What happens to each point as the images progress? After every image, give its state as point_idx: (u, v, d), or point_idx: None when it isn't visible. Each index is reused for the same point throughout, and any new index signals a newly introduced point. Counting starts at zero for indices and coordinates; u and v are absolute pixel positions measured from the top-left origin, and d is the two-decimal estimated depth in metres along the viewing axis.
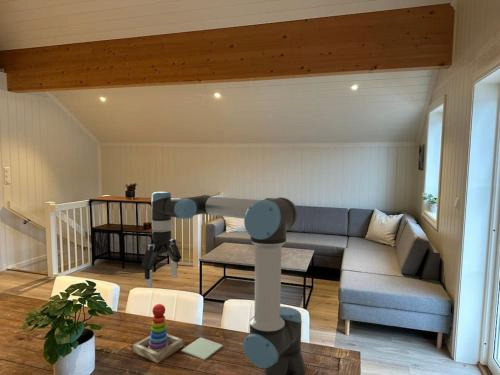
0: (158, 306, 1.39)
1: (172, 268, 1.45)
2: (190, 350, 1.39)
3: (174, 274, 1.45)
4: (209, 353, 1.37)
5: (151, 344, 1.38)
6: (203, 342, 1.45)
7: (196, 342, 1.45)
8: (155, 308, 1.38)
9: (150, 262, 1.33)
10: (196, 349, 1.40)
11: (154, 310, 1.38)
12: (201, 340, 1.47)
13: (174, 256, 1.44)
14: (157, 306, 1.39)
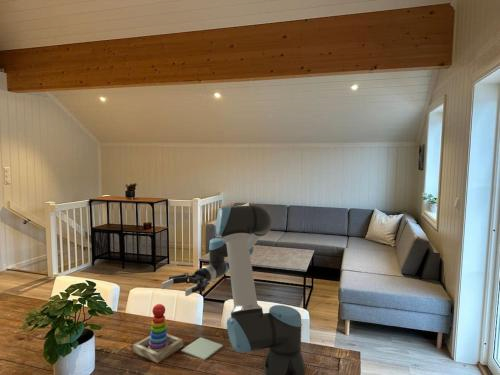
0: (158, 306, 1.39)
1: None
2: (190, 350, 1.39)
3: None
4: (209, 353, 1.37)
5: (151, 344, 1.38)
6: (203, 342, 1.45)
7: (196, 342, 1.45)
8: (155, 308, 1.38)
9: None
10: (196, 349, 1.40)
11: (154, 310, 1.38)
12: (201, 340, 1.47)
13: (198, 282, 1.51)
14: (157, 306, 1.39)
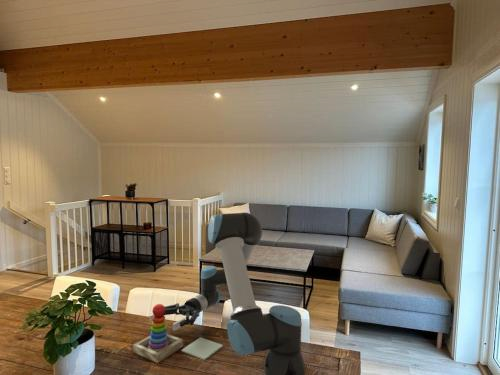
0: (158, 306, 1.39)
1: None
2: (190, 350, 1.39)
3: None
4: (209, 353, 1.37)
5: (151, 344, 1.38)
6: (203, 342, 1.45)
7: (196, 342, 1.45)
8: (155, 308, 1.38)
9: None
10: (196, 349, 1.40)
11: (154, 310, 1.38)
12: (201, 340, 1.47)
13: (187, 315, 1.47)
14: (157, 306, 1.39)
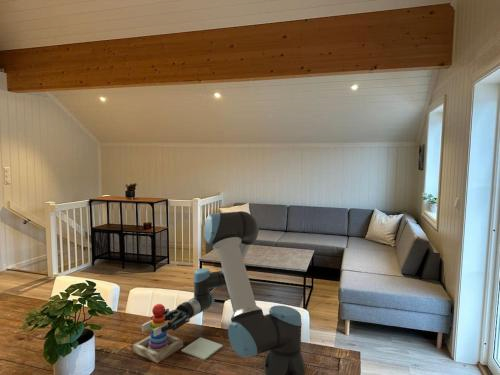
0: (158, 306, 1.39)
1: None
2: (190, 350, 1.39)
3: None
4: (209, 353, 1.37)
5: (151, 344, 1.38)
6: (203, 342, 1.45)
7: (196, 342, 1.45)
8: (155, 308, 1.38)
9: None
10: (196, 349, 1.40)
11: (154, 310, 1.38)
12: (201, 340, 1.47)
13: (172, 320, 1.42)
14: (157, 306, 1.39)
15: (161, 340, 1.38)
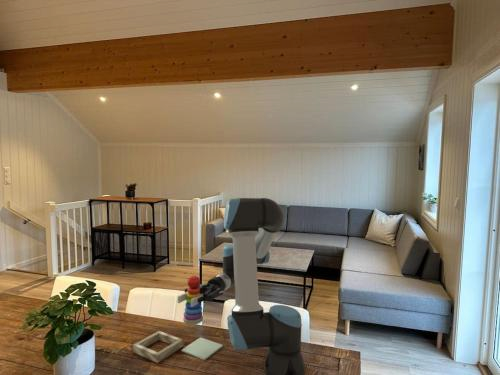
0: (193, 277, 1.39)
1: None
2: (190, 350, 1.39)
3: None
4: (209, 353, 1.37)
5: (187, 315, 1.37)
6: (203, 342, 1.45)
7: (196, 342, 1.45)
8: (191, 279, 1.38)
9: None
10: (196, 349, 1.40)
11: (190, 281, 1.38)
12: (201, 340, 1.47)
13: (206, 292, 1.42)
14: (192, 277, 1.39)
15: (197, 311, 1.38)
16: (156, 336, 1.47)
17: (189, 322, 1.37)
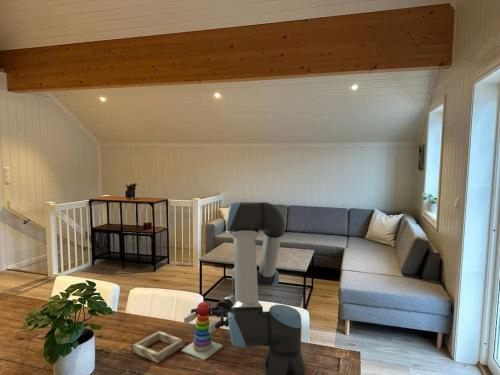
0: (203, 304, 1.40)
1: None
2: (190, 350, 1.39)
3: None
4: (209, 353, 1.37)
5: (196, 342, 1.38)
6: None
7: None
8: (200, 306, 1.39)
9: None
10: None
11: (199, 308, 1.39)
12: None
13: (222, 317, 1.42)
14: (202, 304, 1.40)
15: (206, 338, 1.39)
16: (156, 336, 1.47)
17: (198, 349, 1.38)
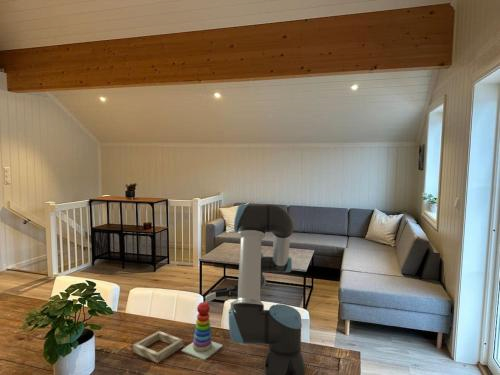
0: (203, 304, 1.39)
1: None
2: (190, 350, 1.39)
3: None
4: (209, 353, 1.37)
5: (196, 342, 1.38)
6: None
7: None
8: (200, 306, 1.39)
9: None
10: None
11: (199, 308, 1.39)
12: None
13: None
14: (202, 304, 1.39)
15: (206, 338, 1.38)
16: (156, 336, 1.47)
17: (198, 349, 1.38)
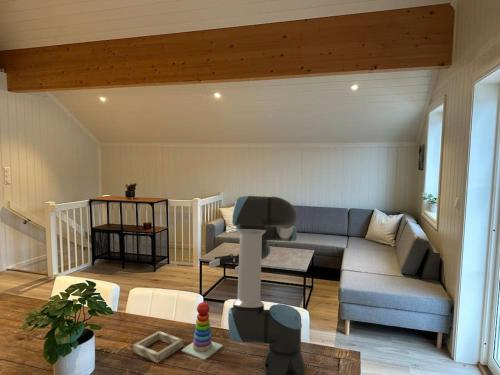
0: (203, 304, 1.39)
1: None
2: (190, 350, 1.39)
3: None
4: (209, 353, 1.37)
5: (196, 342, 1.38)
6: None
7: None
8: (200, 306, 1.39)
9: None
10: None
11: (199, 308, 1.39)
12: None
13: None
14: (202, 304, 1.39)
15: (206, 338, 1.38)
16: (156, 336, 1.47)
17: (198, 349, 1.38)
